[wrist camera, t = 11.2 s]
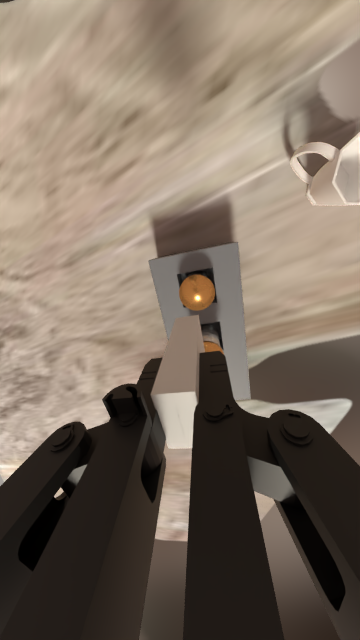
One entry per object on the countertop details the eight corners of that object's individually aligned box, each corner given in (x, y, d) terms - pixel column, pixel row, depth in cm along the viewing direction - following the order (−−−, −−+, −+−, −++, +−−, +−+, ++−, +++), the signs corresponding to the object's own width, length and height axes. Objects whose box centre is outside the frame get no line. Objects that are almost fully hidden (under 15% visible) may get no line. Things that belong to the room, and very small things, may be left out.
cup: (327, 225, 27) (375, 219, 20) (266, 194, 26) (291, 176, 19) (365, 169, 24) (437, 137, 17) (297, 134, 24) (341, 84, 16)
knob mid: (191, 347, 31) (188, 372, 25) (191, 322, 30) (188, 342, 24) (219, 348, 31) (223, 374, 25) (220, 322, 29) (225, 343, 23)
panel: (243, 376, 38) (250, 398, 33) (186, 381, 40) (183, 403, 35) (231, 242, 29) (238, 242, 24) (157, 257, 31) (148, 260, 26)
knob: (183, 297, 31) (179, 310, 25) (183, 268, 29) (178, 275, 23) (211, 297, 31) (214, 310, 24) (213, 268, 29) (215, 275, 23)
